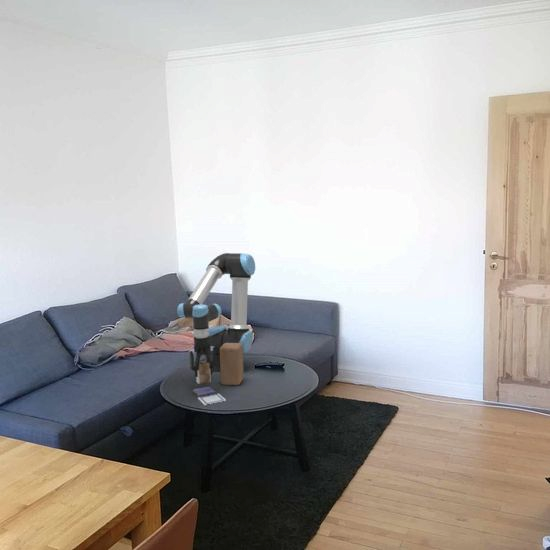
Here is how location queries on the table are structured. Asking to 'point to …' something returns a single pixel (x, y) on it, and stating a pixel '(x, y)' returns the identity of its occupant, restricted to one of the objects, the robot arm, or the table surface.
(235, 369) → the wooden block
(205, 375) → the stamp
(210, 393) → the ink pad
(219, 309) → the robot arm
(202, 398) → the print card
